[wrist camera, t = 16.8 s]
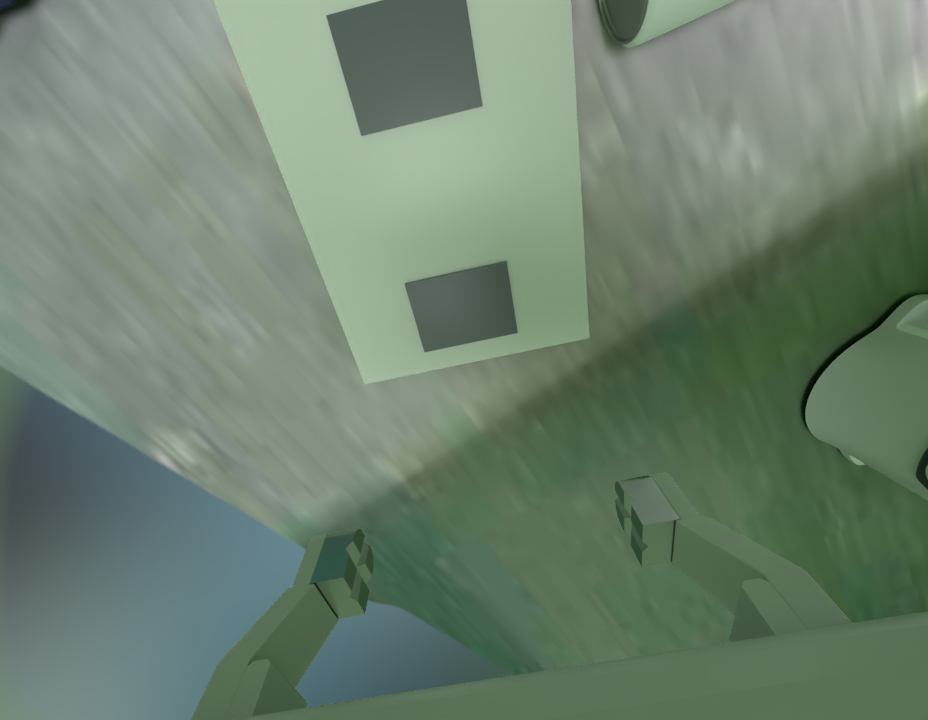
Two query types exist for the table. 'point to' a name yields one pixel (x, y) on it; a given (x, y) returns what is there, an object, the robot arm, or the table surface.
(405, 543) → the table surface
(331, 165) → the panel
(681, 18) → the can
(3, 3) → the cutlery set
